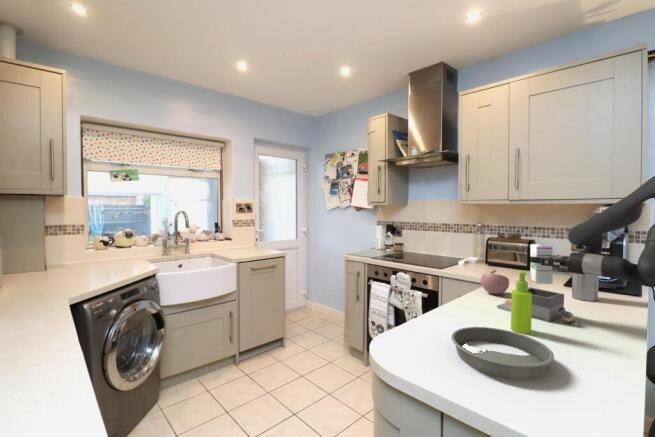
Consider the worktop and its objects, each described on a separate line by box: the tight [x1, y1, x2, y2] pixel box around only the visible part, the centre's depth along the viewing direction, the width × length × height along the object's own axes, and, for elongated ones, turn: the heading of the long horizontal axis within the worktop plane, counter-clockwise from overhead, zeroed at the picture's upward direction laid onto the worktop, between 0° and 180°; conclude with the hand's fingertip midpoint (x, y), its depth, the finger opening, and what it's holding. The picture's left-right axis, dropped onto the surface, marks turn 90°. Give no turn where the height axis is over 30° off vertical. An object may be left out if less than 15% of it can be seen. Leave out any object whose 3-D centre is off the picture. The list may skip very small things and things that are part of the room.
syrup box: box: [529, 243, 554, 285], centre depth 120 cm, size 6×6×14 cm
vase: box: [558, 307, 579, 327], centre depth 112 cm, size 5×5×6 cm
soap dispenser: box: [510, 270, 532, 335], centre depth 106 cm, size 6×7×20 cm
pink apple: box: [480, 269, 510, 295], centre depth 150 cm, size 12×12×11 cm
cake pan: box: [450, 326, 555, 380], centre depth 86 cm, size 25×25×4 cm
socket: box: [496, 287, 565, 323], centre depth 124 cm, size 12×19×8 cm, turn 32°
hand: (536, 258), depth 122 cm, fingers closed on syrup box, 8 cm apart
